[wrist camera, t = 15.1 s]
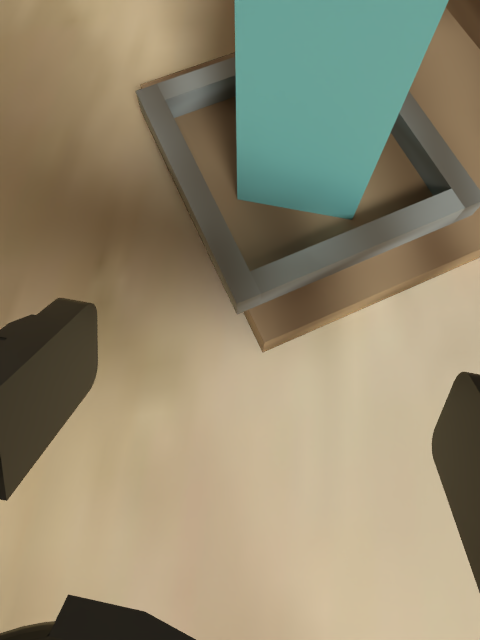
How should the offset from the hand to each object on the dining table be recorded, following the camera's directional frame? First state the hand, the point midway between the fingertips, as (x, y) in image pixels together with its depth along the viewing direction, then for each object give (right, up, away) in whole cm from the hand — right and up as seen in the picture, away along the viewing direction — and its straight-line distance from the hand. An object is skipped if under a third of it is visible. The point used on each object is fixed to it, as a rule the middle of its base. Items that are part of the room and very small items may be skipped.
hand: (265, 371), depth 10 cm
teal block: (+2, +8, +10) cm, 13 cm away
